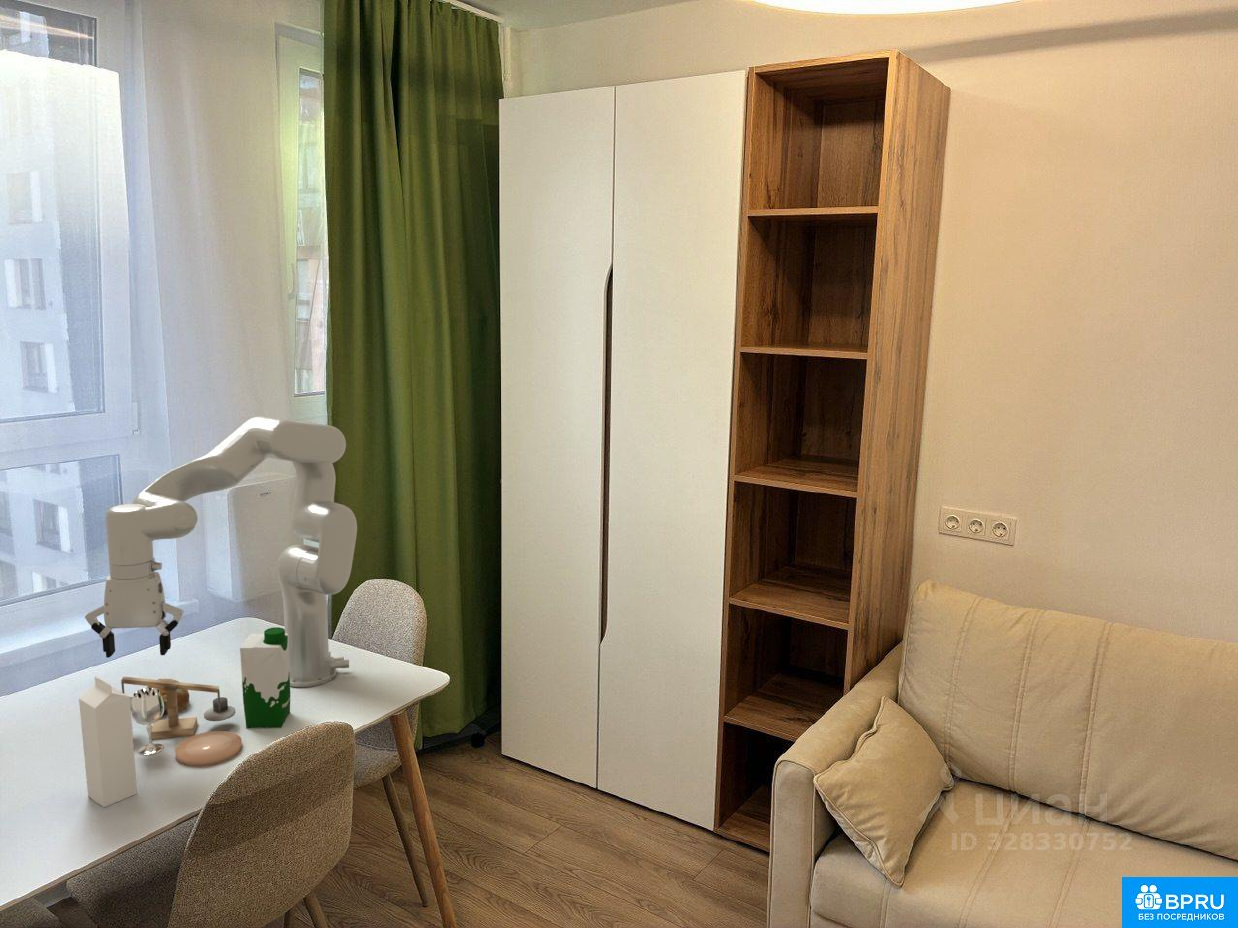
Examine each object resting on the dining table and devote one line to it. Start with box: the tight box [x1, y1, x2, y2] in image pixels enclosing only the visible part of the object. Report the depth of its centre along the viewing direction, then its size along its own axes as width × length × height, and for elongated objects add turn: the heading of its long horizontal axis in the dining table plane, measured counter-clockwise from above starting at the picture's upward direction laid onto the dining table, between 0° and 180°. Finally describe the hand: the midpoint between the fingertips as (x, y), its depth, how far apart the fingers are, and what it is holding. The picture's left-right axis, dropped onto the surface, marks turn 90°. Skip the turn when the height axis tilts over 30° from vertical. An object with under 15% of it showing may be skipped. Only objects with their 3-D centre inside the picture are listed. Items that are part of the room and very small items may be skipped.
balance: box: [120, 676, 236, 740], centre depth 190 cm, size 24×6×12 cm, turn 105°
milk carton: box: [239, 626, 291, 729], centre depth 195 cm, size 9×9×20 cm
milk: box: [78, 676, 138, 808], centre depth 166 cm, size 6×6×22 cm
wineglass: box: [131, 687, 165, 756], centre depth 183 cm, size 6×6×12 cm
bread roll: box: [146, 678, 190, 717], centre depth 201 cm, size 10×10×8 cm
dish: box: [174, 730, 243, 768], centre depth 184 cm, size 12×12×1 cm
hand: (137, 653), depth 182 cm, fingers open, 9 cm apart
